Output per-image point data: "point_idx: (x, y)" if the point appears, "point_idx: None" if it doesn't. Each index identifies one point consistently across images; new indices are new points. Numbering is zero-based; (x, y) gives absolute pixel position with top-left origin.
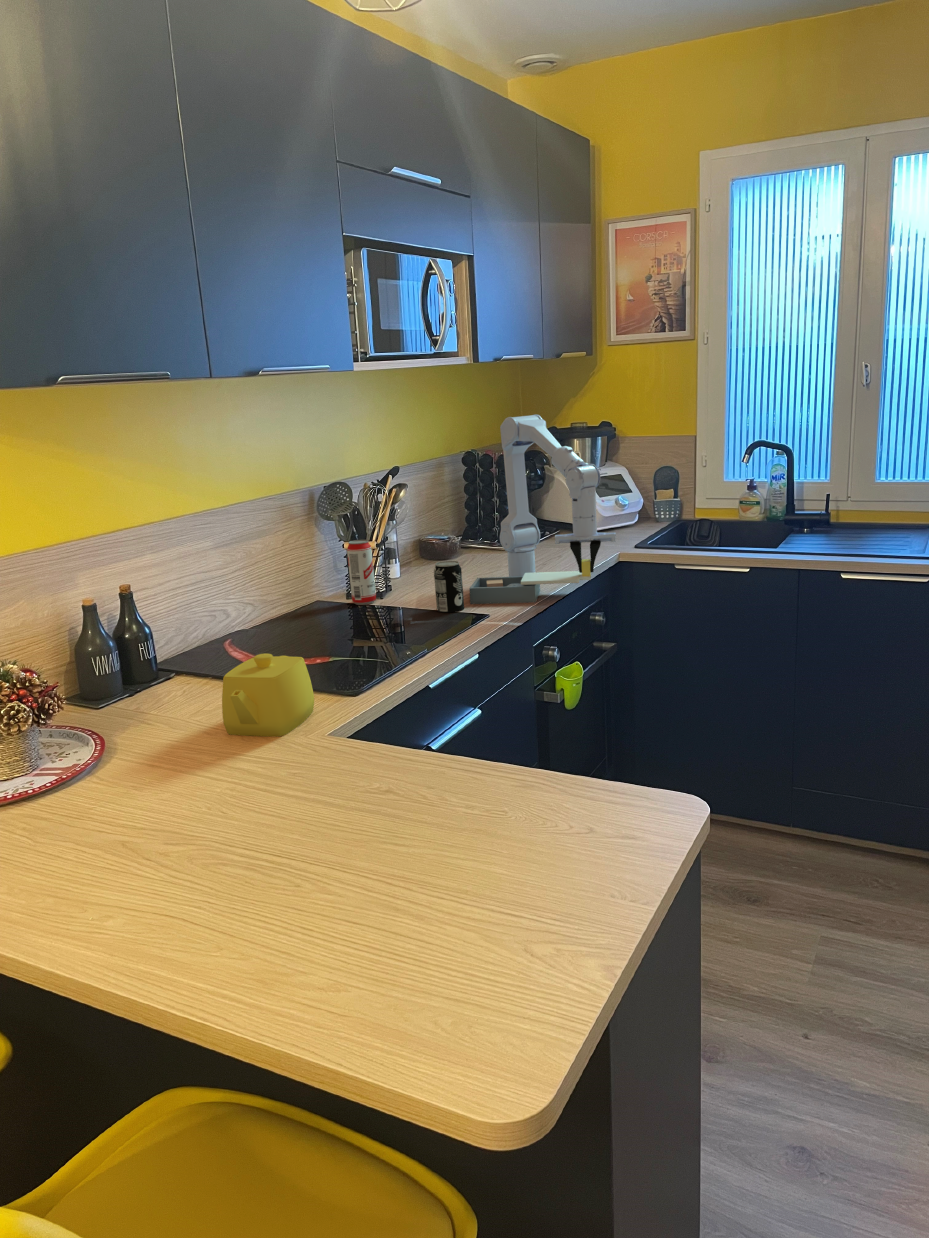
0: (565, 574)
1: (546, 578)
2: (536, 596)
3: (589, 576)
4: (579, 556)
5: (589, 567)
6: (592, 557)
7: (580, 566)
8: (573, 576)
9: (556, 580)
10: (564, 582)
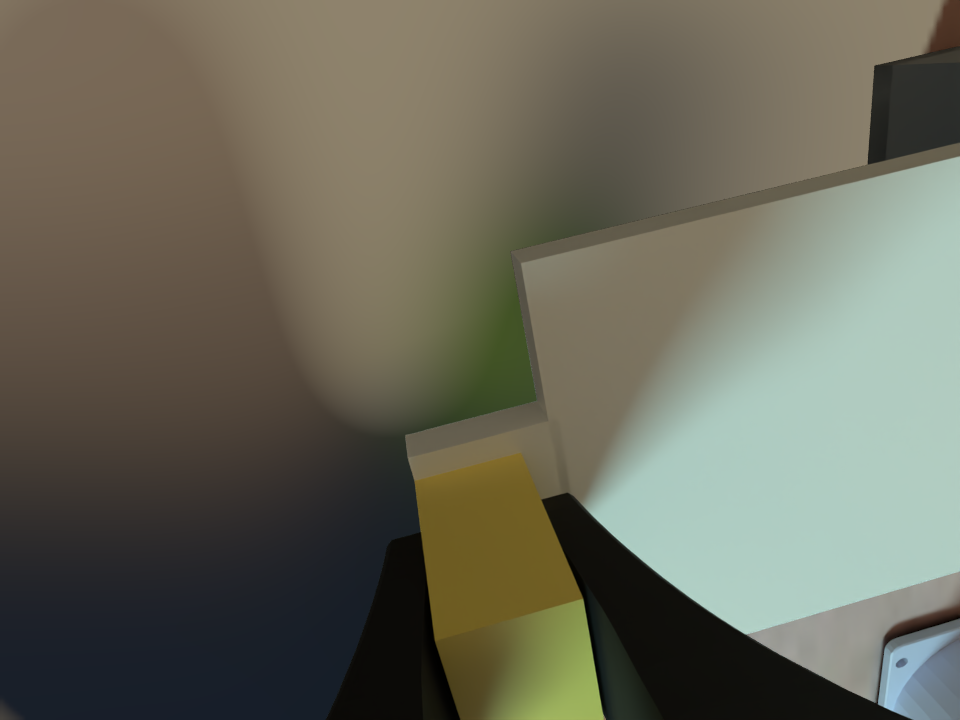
0: (739, 513)
1: (955, 288)
2: None
3: (422, 464)
4: (658, 661)
5: (434, 559)
6: (381, 715)
7: (580, 542)
8: (631, 437)
9: (830, 187)
10: (706, 208)
